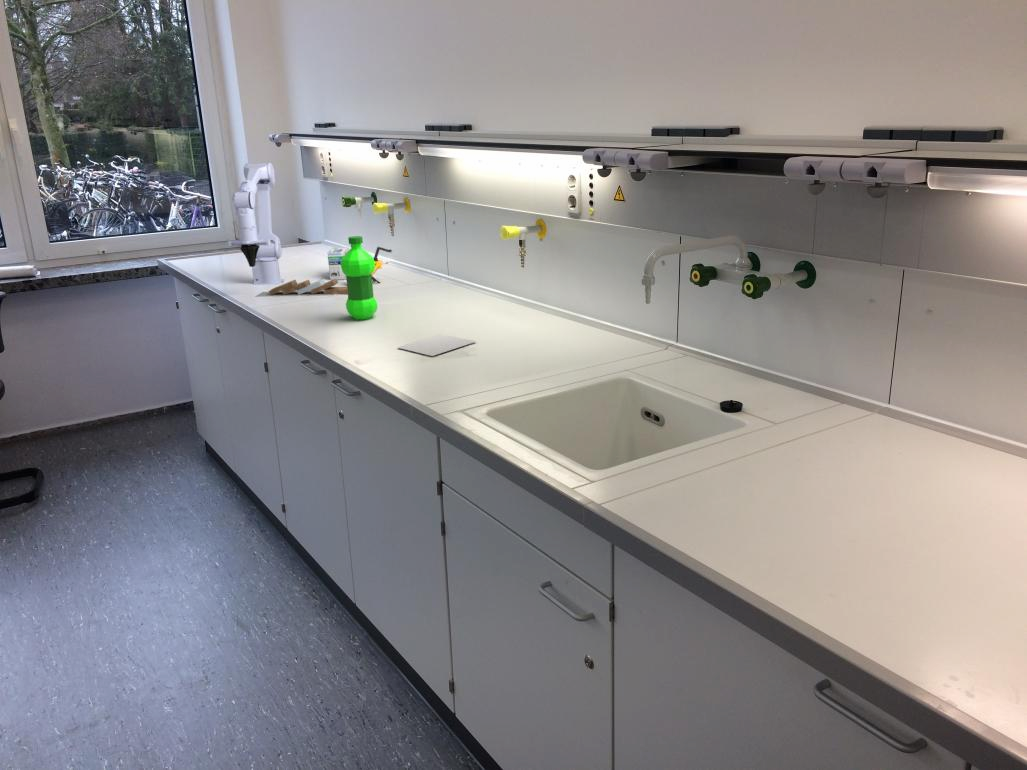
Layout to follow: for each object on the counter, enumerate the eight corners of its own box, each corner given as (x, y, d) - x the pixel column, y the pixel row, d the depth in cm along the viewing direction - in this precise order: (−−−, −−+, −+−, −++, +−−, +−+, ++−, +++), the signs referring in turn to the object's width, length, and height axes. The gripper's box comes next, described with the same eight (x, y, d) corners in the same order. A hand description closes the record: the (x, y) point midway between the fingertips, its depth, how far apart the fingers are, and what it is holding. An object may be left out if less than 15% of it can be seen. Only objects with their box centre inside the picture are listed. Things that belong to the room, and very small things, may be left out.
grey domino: (302, 291, 300) (325, 283, 298) (298, 294, 295) (321, 285, 294) (300, 287, 299) (323, 278, 298) (296, 290, 295) (319, 281, 293)
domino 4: (323, 289, 294) (348, 289, 293) (327, 287, 299) (352, 286, 298) (323, 294, 295) (349, 293, 294) (327, 291, 299) (352, 291, 298)
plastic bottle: (347, 323, 256) (339, 240, 248) (345, 315, 266) (337, 235, 258) (380, 319, 259) (373, 238, 251) (376, 312, 268) (369, 233, 260)
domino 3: (310, 290, 295) (332, 281, 293) (314, 287, 299) (336, 278, 297) (312, 294, 295) (334, 285, 293) (316, 291, 300) (338, 282, 298)
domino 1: (268, 291, 296) (291, 282, 294) (273, 288, 300) (295, 279, 299) (270, 295, 296) (293, 286, 295) (275, 292, 301) (297, 283, 299)
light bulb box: (347, 279, 320) (344, 251, 317) (329, 280, 320) (326, 252, 317) (351, 274, 331) (348, 246, 327) (334, 275, 330) (331, 247, 327)
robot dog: (397, 282, 313) (394, 246, 309) (351, 288, 305) (347, 251, 300) (391, 279, 318) (388, 244, 313) (345, 286, 309) (342, 249, 305)
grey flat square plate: (502, 349, 225) (502, 346, 224) (434, 373, 207) (434, 370, 207) (441, 336, 240) (441, 333, 239) (373, 357, 222) (373, 354, 222)
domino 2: (281, 290, 295) (304, 282, 294) (286, 288, 300) (308, 279, 298) (283, 295, 296) (306, 286, 294) (288, 292, 300) (310, 283, 299)
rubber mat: (255, 297, 295) (255, 296, 295) (262, 292, 302) (262, 291, 302) (333, 296, 293) (333, 295, 293) (339, 291, 300) (339, 290, 300)
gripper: (222, 229, 288) (227, 268, 292) (263, 228, 287) (268, 268, 291) (230, 226, 295) (235, 265, 299) (270, 225, 294) (275, 264, 298)
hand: (252, 266), depth 296 cm, fingers closed
